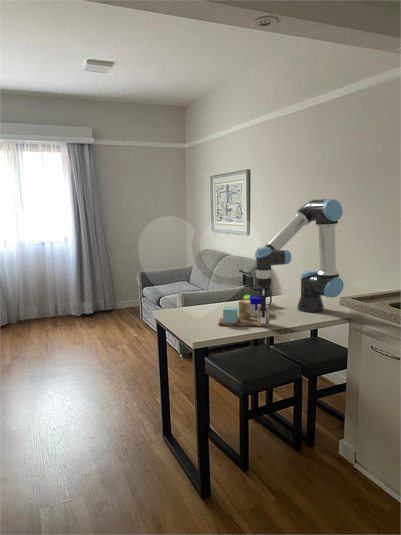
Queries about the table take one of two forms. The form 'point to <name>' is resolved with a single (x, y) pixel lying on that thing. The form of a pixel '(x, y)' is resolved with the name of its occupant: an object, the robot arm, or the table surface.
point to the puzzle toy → (253, 303)
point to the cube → (230, 314)
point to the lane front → (250, 322)
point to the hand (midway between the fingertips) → (263, 321)
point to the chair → (249, 283)
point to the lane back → (243, 310)
